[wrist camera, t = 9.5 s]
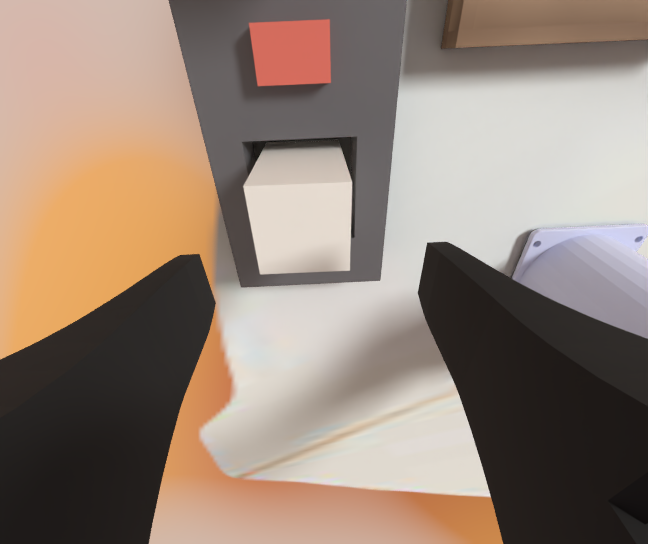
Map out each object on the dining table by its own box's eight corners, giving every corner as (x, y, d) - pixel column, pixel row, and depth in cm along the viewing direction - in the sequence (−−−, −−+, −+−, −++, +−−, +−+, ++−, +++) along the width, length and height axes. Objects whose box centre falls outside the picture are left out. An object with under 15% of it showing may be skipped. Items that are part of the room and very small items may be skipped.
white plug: (338, 207, 19) (349, 270, 13) (275, 209, 19) (259, 274, 13) (338, 139, 17) (352, 182, 11) (266, 142, 17) (243, 186, 11)
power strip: (373, 259, 21) (382, 288, 19) (247, 265, 21) (238, 295, 19) (433, -555, 7) (503, -906, 5) (67, -543, 7) (-75, -893, 5)
